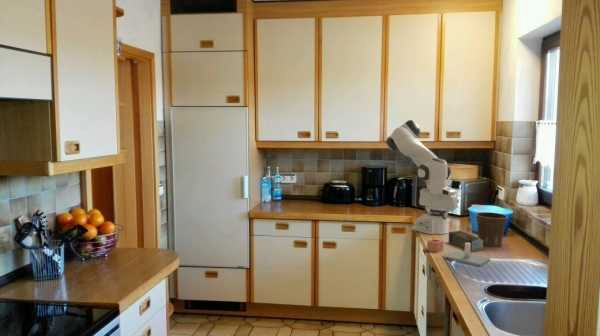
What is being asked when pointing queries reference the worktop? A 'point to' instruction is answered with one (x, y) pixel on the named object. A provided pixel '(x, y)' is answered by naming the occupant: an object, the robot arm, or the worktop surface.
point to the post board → (469, 260)
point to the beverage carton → (465, 240)
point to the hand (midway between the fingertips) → (437, 215)
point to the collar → (435, 245)
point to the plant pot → (491, 227)
